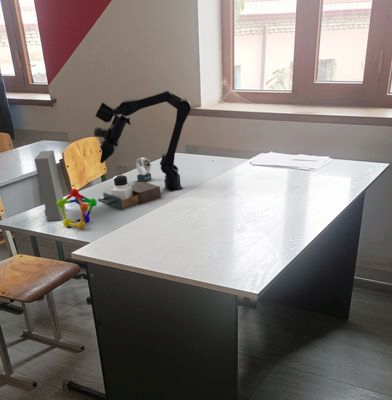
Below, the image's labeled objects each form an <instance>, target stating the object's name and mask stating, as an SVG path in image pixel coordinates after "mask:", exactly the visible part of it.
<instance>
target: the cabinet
mask: <svg viewBox="0 0 392 400" xmlns="http://www.w3.org/2000/svg"><path fill="white" fill-rule="evenodd" d="M128 186H132V191H133V193H136V194H139V200H140V203H139V204H140V205H142V204H145V203H148V202H151V201H155V200H157V199H161V198H162V196H161V193H162V192H161V186H160V185H157V184H152V183H149V182H136V183H134V184H130V185H129V184H128Z"/></svg>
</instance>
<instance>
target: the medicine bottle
mask: <svg viewBox="0 0 392 400" xmlns="http://www.w3.org/2000/svg"><path fill="white" fill-rule="evenodd" d="M112 183H113V187H112V188H111V189H110V190H109V191H110V195H113V196H116V197H119V198H121V200H124V199H127V198H130V197H133V191H132V186H129V184H128V177H127V176H126V175H123V174H119V175H115V176H113V177H112Z"/></svg>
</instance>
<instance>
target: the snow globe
mask: <svg viewBox="0 0 392 400" xmlns="http://www.w3.org/2000/svg"><path fill="white" fill-rule="evenodd" d="M140 162H141V164H140ZM141 166H142V167H143V168H142V167H141ZM151 167H152V162H151V160H149V159H148V158H146V157H144V156H143V157H139V158H137V159H136V161H135V168H136V170H137V172H138V174H136V178H137V183H140V182H146V183H148V182H151V181H152V173H150V172H151ZM143 169H144V171H146V172H144V171H143Z"/></svg>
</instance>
